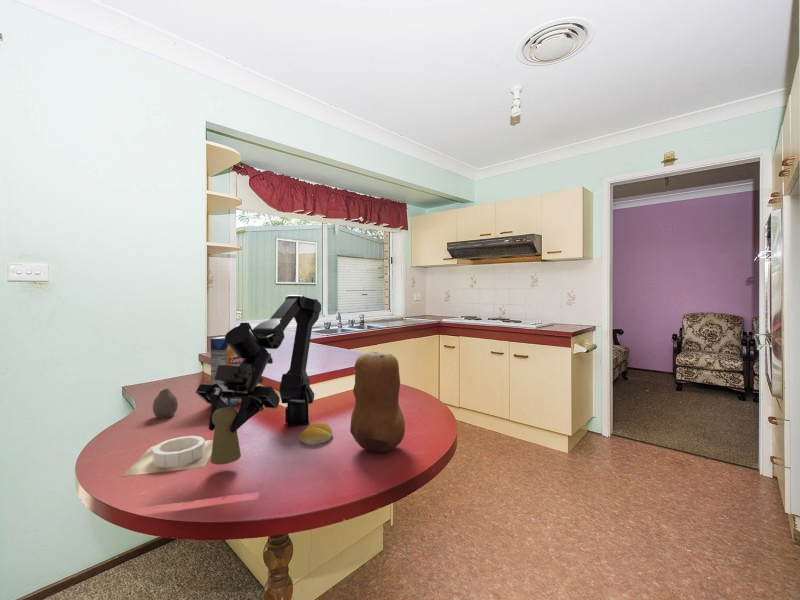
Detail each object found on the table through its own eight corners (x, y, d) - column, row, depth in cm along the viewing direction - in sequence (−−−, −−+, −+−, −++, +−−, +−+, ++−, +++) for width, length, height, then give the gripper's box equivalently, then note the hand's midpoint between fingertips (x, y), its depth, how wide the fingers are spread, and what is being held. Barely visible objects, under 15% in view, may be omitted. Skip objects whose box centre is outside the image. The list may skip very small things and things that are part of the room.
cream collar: (209, 445, 93) (208, 434, 93) (197, 464, 83) (197, 451, 83) (163, 450, 91) (162, 438, 91) (145, 470, 81) (145, 456, 80)
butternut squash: (400, 437, 101) (399, 347, 100) (409, 458, 88) (409, 355, 87) (349, 440, 99) (348, 348, 98) (351, 463, 85) (350, 357, 85)
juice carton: (236, 396, 142) (235, 334, 141) (251, 398, 139) (251, 335, 139) (211, 405, 131) (210, 338, 130) (227, 407, 128) (226, 339, 128)
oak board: (220, 443, 97) (220, 439, 97) (204, 471, 82) (204, 466, 82) (151, 449, 93) (151, 446, 93) (121, 480, 78) (121, 476, 78)
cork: (229, 465, 77) (228, 414, 77) (204, 463, 78) (203, 412, 78) (246, 453, 83) (245, 405, 82) (223, 450, 84) (222, 403, 84)
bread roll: (295, 445, 96) (295, 430, 96) (309, 432, 105) (309, 418, 105) (324, 447, 95) (324, 432, 95) (336, 434, 104) (336, 420, 104)
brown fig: (147, 418, 117) (147, 391, 117) (168, 412, 123) (168, 386, 123) (162, 421, 114) (161, 393, 114) (182, 414, 121) (182, 388, 121)
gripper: (200, 348, 86) (161, 410, 75) (272, 351, 82) (241, 416, 71) (224, 374, 93) (192, 433, 83) (290, 377, 90) (265, 440, 79)
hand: (221, 430), depth 79 cm, fingers closed on cork, 5 cm apart
